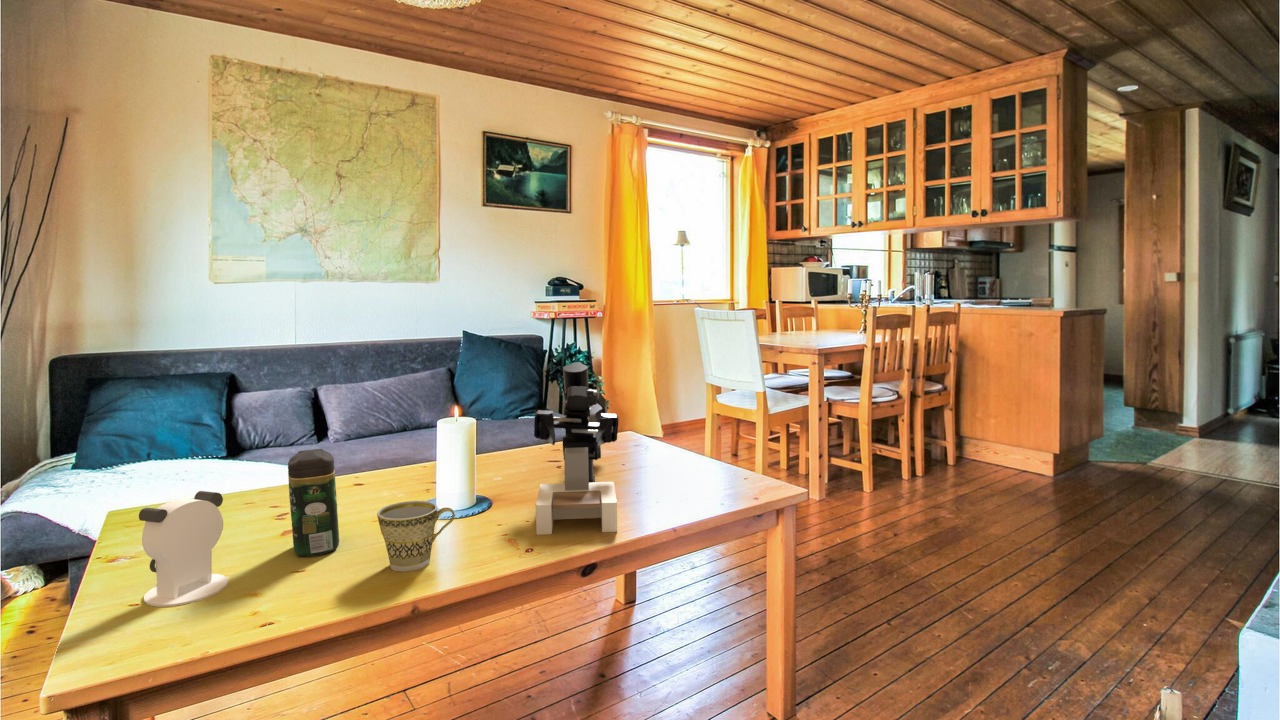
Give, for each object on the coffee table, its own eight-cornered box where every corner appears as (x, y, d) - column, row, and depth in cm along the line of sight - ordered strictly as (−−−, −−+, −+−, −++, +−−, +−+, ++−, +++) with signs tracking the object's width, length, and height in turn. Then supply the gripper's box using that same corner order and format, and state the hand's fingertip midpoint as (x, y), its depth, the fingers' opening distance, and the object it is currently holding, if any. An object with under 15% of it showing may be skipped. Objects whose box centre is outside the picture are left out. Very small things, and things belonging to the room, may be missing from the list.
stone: (565, 483, 146) (564, 448, 145) (588, 483, 146) (587, 447, 145) (565, 490, 141) (564, 453, 140) (588, 489, 141) (588, 452, 140)
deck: (540, 510, 146) (540, 484, 146) (613, 508, 148) (613, 481, 147) (536, 534, 132) (535, 505, 131) (617, 531, 133) (616, 502, 133)
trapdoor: (554, 495, 140) (554, 491, 140) (598, 494, 141) (598, 490, 141) (553, 508, 131) (553, 505, 131) (599, 507, 132) (599, 503, 132)
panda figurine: (196, 570, 116) (189, 486, 115) (247, 578, 113) (241, 492, 111) (125, 601, 105) (117, 508, 103) (180, 610, 101) (172, 515, 100)
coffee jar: (293, 543, 128) (287, 448, 127) (338, 536, 132) (333, 444, 130) (292, 561, 120) (285, 460, 118) (340, 553, 123) (334, 455, 121)
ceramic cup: (381, 580, 112) (378, 522, 111) (378, 558, 121) (375, 505, 120) (460, 567, 117) (458, 511, 116) (452, 547, 126) (450, 495, 125)
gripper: (538, 378, 154) (532, 407, 139) (619, 382, 155) (621, 412, 141) (537, 421, 158) (531, 454, 143) (615, 425, 159) (617, 458, 145)
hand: (575, 443), depth 143 cm, fingers open, 9 cm apart
